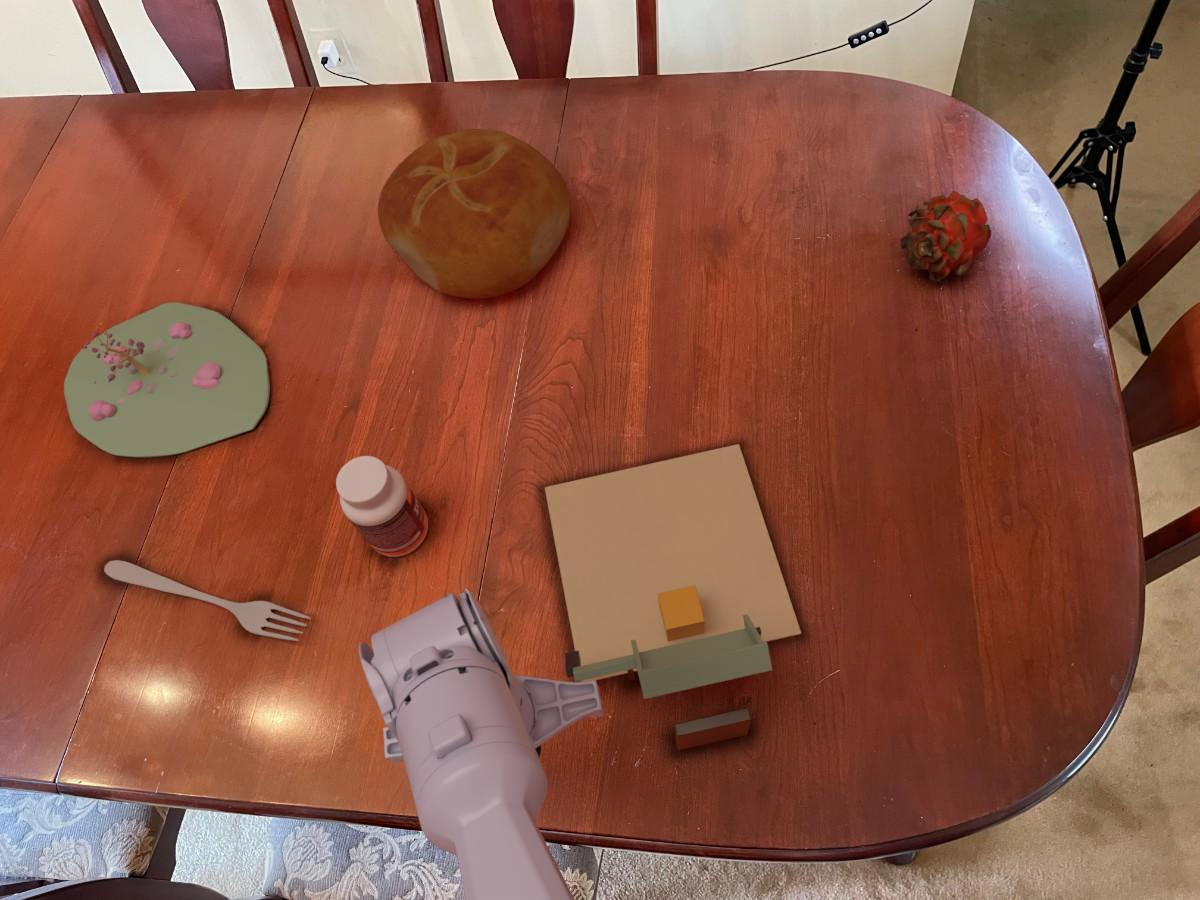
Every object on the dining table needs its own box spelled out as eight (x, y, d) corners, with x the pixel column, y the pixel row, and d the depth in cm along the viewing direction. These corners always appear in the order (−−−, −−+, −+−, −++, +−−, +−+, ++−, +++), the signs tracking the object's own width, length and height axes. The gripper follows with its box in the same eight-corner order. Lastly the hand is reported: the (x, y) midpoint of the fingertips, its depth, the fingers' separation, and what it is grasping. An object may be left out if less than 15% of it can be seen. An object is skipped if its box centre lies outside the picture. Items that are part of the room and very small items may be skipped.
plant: (308, 317, 99) (275, 265, 91) (242, 472, 90) (198, 428, 82) (120, 301, 104) (73, 250, 96) (37, 447, 94) (-23, 403, 86)
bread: (365, 305, 99) (333, 246, 91) (417, 164, 110) (393, 99, 102) (554, 318, 96) (540, 257, 87) (588, 171, 107) (579, 104, 98)
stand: (779, 727, 72) (785, 711, 66) (646, 757, 71) (642, 744, 66) (755, 647, 75) (759, 626, 70) (628, 676, 75) (623, 657, 70)
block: (705, 621, 73) (695, 584, 75) (666, 629, 73) (657, 593, 75) (704, 633, 76) (695, 597, 78) (667, 641, 76) (658, 606, 78)
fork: (115, 551, 86) (104, 544, 85) (320, 619, 80) (312, 613, 79) (96, 580, 85) (85, 573, 83) (303, 650, 79) (296, 645, 78)
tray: (773, 672, 63) (767, 643, 62) (569, 718, 63) (562, 689, 62) (744, 621, 72) (739, 595, 72) (566, 661, 72) (560, 636, 72)
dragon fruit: (911, 308, 93) (936, 243, 100) (990, 291, 87) (1012, 224, 94) (880, 246, 89) (909, 183, 96) (961, 224, 83) (986, 158, 90)
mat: (801, 634, 75) (801, 633, 75) (581, 684, 75) (581, 683, 75) (738, 445, 85) (738, 443, 85) (544, 488, 85) (544, 487, 85)
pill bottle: (442, 528, 84) (410, 477, 74) (393, 571, 82) (354, 524, 73) (404, 490, 86) (368, 435, 77) (356, 531, 85) (313, 480, 75)
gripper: (579, 615, 54) (600, 672, 66) (357, 665, 54) (417, 713, 66) (601, 726, 51) (619, 765, 62) (363, 780, 50) (426, 809, 62)
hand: (516, 745), depth 64 cm, fingers closed
